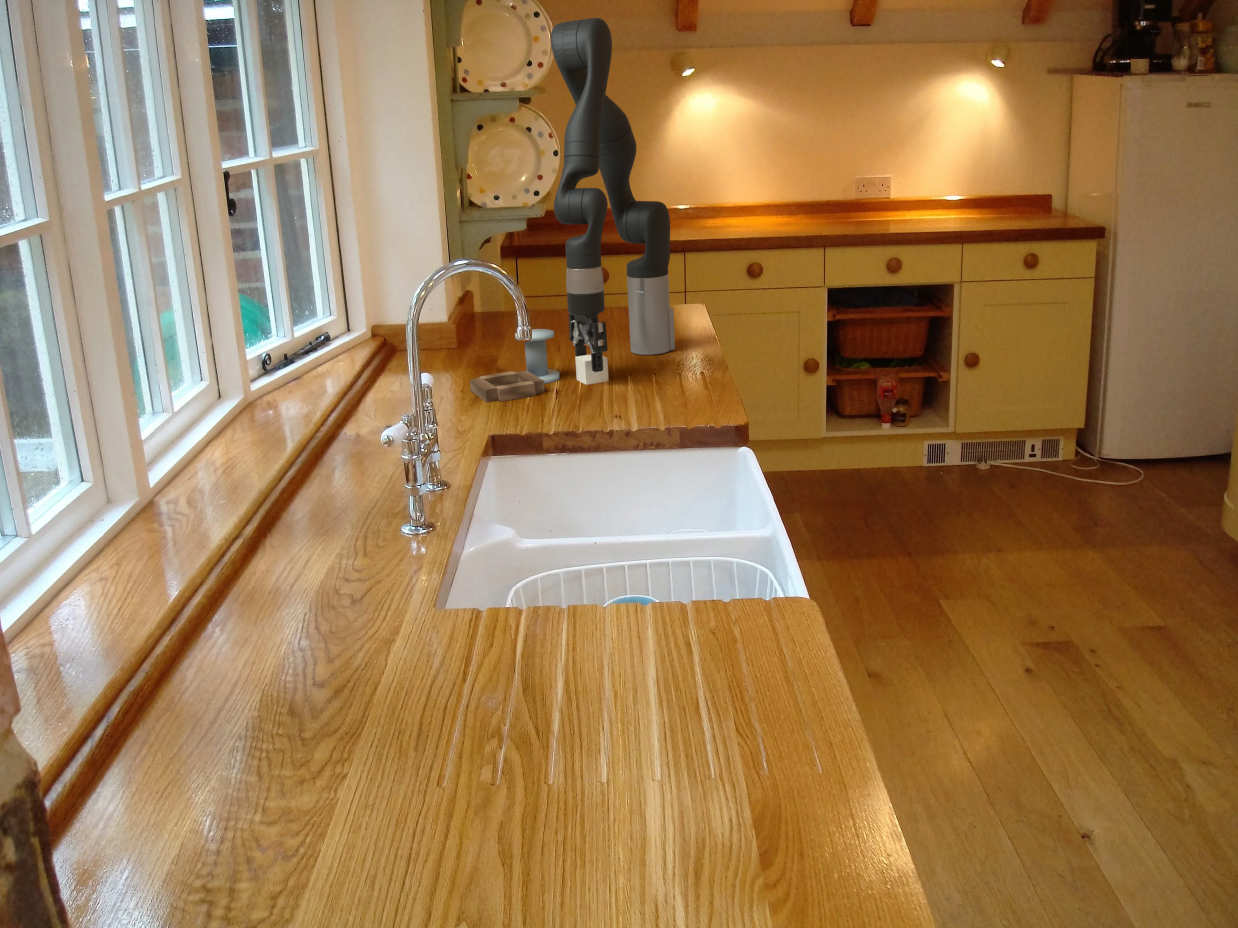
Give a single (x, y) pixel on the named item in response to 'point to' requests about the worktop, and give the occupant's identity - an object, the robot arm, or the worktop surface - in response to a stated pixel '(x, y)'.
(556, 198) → the robot arm
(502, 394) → the tray
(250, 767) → the worktop surface
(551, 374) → the bobbin
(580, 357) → the block
